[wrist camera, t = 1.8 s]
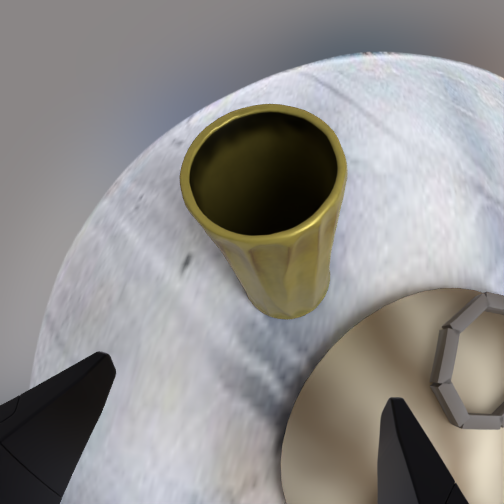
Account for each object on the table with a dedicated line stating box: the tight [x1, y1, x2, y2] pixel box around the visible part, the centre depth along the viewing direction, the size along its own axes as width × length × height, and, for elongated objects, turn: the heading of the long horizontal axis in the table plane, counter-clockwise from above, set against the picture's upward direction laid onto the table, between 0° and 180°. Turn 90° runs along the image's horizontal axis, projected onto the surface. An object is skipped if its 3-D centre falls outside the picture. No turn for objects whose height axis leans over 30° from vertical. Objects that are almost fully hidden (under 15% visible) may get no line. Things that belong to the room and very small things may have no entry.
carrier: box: [281, 288, 504, 504], centre depth 16 cm, size 23×23×3 cm
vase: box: [180, 104, 347, 319], centre depth 16 cm, size 6×6×14 cm
